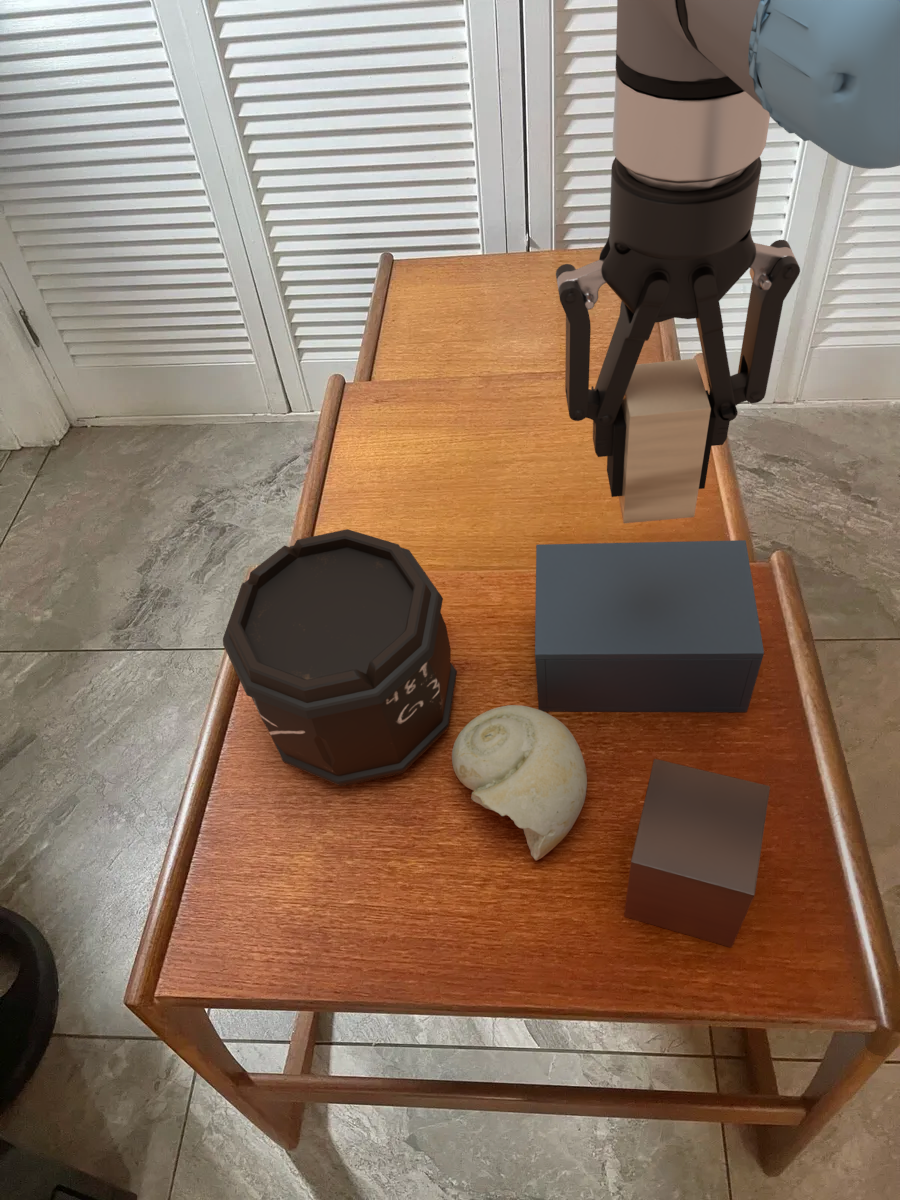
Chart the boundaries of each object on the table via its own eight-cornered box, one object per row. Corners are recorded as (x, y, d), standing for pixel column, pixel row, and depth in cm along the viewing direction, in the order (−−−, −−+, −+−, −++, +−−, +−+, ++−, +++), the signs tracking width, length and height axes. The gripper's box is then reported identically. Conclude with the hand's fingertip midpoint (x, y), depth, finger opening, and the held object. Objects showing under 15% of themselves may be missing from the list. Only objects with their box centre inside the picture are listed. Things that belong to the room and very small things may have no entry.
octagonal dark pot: (289, 622, 90) (244, 515, 78) (468, 630, 87) (450, 520, 75) (240, 788, 79) (178, 694, 67) (441, 804, 76) (415, 709, 64)
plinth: (731, 948, 67) (754, 895, 58) (623, 916, 69) (630, 862, 60) (746, 848, 71) (770, 785, 62) (645, 821, 73) (654, 758, 65)
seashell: (426, 720, 73) (535, 661, 74) (445, 753, 80) (545, 699, 80) (499, 861, 66) (618, 795, 67) (513, 884, 73) (621, 824, 74)
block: (694, 517, 64) (711, 408, 56) (623, 524, 64) (630, 416, 56) (681, 468, 67) (696, 357, 59) (614, 474, 67) (619, 365, 60)
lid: (536, 549, 81) (536, 544, 80) (744, 545, 79) (745, 540, 78) (535, 659, 74) (534, 654, 73) (762, 658, 72) (764, 653, 71)
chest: (539, 614, 87) (536, 559, 81) (732, 612, 85) (745, 555, 78) (538, 711, 81) (535, 660, 74) (747, 712, 78) (762, 659, 72)
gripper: (846, 98, 48) (771, 431, 66) (505, 140, 49) (524, 454, 67) (892, 169, 43) (797, 505, 61) (514, 213, 44) (532, 529, 63)
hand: (654, 478), depth 64 cm, fingers closed on block, 5 cm apart
